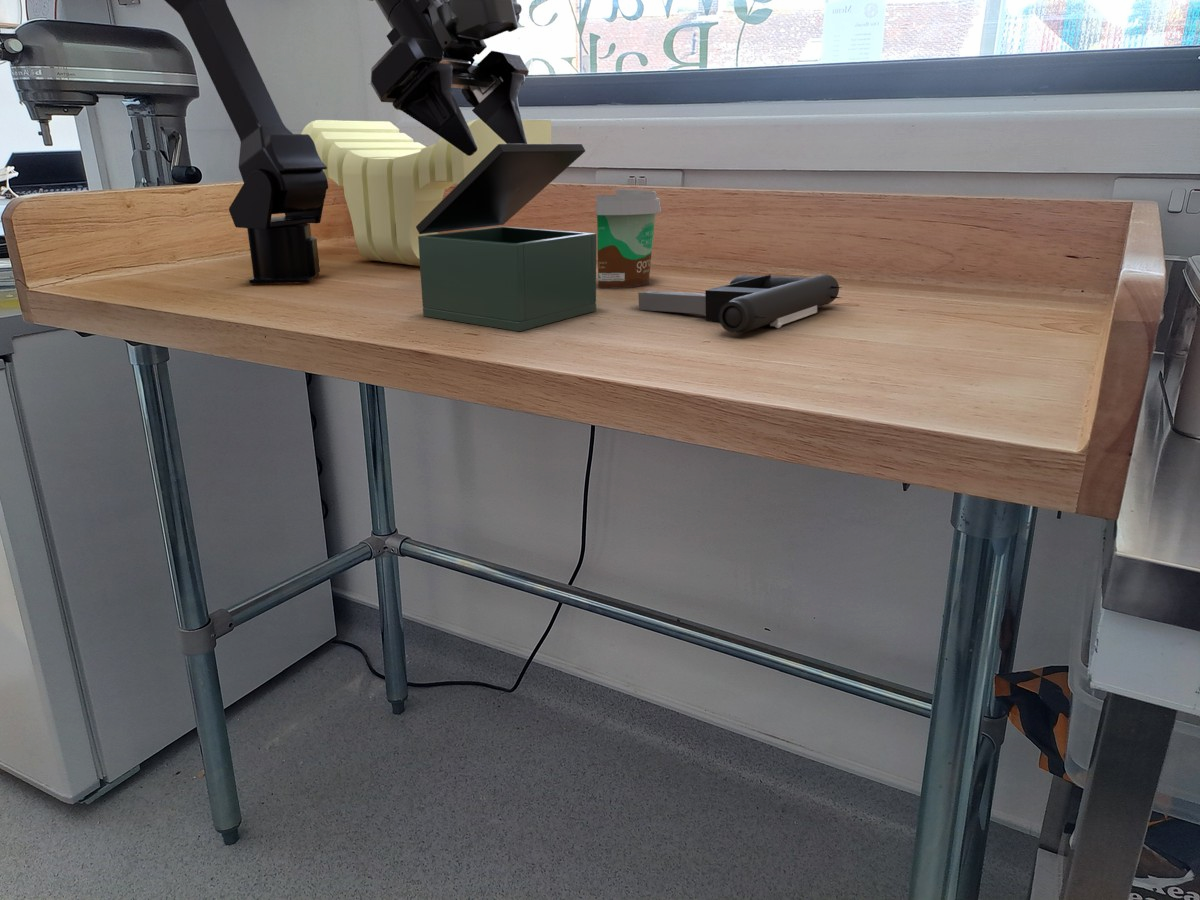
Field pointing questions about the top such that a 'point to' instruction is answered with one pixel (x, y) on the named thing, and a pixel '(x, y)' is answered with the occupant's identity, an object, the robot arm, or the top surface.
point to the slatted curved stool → (398, 177)
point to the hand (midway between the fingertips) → (500, 152)
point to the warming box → (508, 276)
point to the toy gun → (749, 300)
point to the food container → (625, 237)
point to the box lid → (500, 186)
